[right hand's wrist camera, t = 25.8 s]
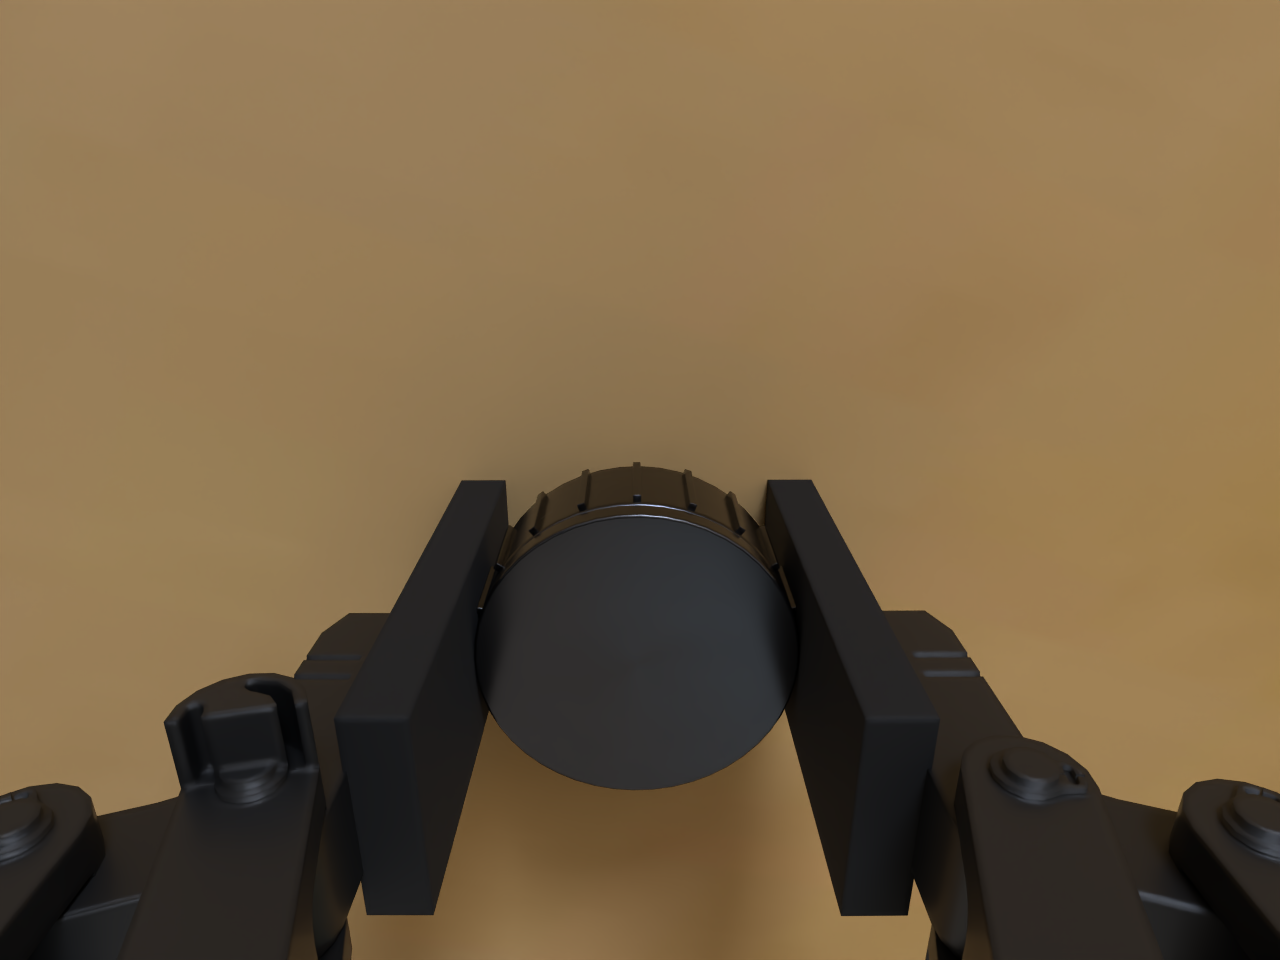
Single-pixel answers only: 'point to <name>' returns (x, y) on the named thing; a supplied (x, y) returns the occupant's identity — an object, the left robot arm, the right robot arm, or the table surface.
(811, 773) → the right robot arm
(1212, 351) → the table surface
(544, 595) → the lid
